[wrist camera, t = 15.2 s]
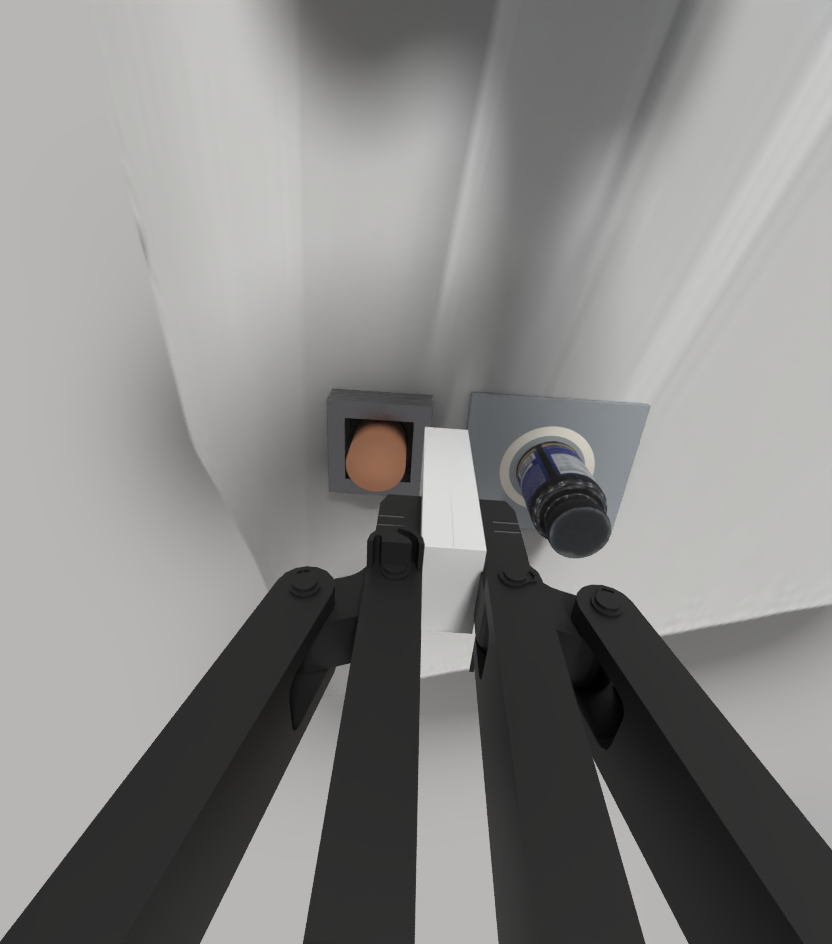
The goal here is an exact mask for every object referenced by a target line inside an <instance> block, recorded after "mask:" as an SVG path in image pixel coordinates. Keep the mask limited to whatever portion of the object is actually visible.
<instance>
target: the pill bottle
mask: <svg viewBox="0 0 832 944" xmlns="http://www.w3.org/2000/svg"><path fill="white" fill-rule="evenodd" d="M516 477H517V481H518V484H519V487H520V490H521V492H522V495H523V498H524V501H525V504H526V507H527V509H528V512H529V515H530V517H531V520H532V523H533V525H534V527H535V529H536V530H537V531H538V532H539V534H541V536H543V537H544V538H546V539H548V540H549V543H550V545H551V546H552V548H553V549H554V550H555V551H556V552H557V553H559V554H560V555H563V556H565V557H569V558H583V557H587V556H590V555H593V554H594V553H596V552H598V551H599V550H600V549H602V548H603V547H604V546H605V544H606V543H607V542H608V540H609V537H610V535H611V523H610V520H609V518H608V516H607V500H606V497H605V494H604V493H603V491H602V489H601V488H600V487H599V485H598V484H597V482H596V481H595V479H594V478H593V476H592V475H591V473H590V472H589V470H588V469H587V467H586V466H585V464H584V463H583V462H582V460H581V459H580V457H579V456H578V454H577V452H576V451H575V450H574V449H573V448H572V447H570V446H569V445H567V444H564V443H562V442H557V441H548V442H543V443H540V444H537V445H535V446H533V447H531V448H530V449H529V450H527V451H526V452H525V453H524V455H523V456H522V457H521V459H520V460H519V463H518V465H517V468H516Z"/></svg>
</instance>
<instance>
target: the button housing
mask: <svg viewBox="0 0 832 944" xmlns="http://www.w3.org/2000/svg"><path fill="white" fill-rule="evenodd" d="M432 410H433V401H432V395H420V394H405V393H389V392H374V391H358V390H343V389H332V391H331V393H330V395H329V397H328V399H327V430H328V466H329V492H343V493H359V494H375V495H388V494H395V495H410V496H420V482H421V470H422V457H423V445H424V432H425V427H431V422H432ZM349 418H355V419H371V420H387V421H402V422H414V429H413V445H412V461H411V468H409V467H405V472H404V475H403V478H402V479H401V481H400V482H399V483H398V484H397V485H396V486H394V487H393V488H391V489H389V490H386V491H380V492H373V491H368V490H365V489H363V488H361V487H359V486H357V485H356V484H355V483H354V482H353V481H352V480H351V478H350V477H349V475H348V473H347V470H346V458H347V455H348V452H349V449H350V426H349Z"/></svg>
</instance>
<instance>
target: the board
mask: <svg viewBox="0 0 832 944" xmlns="http://www.w3.org/2000/svg"><path fill="white" fill-rule="evenodd" d="M649 409H650V405H648V404H642V403H626V402H611V401H595V400H580V399H564V398H549V397H534V396H518V395H503V394H487V393H471V401H470V409H469V417H468V426H467V430H468V434H469V440H470V447H471V453H472V460H473V466H474V473H475V479H476V486H477V492H478V499H484V500H499V501H506V502H507V503H508V504H509V505H510V506H511V507H512V508H513V509H514V510H515V512H516V516H517V520H518V525H519V527H520V529H530V530H536V529H535V527H534V525H533V523H532V520H531V517H530V515H529V512H528V509H527V507H526V504H525V501H524V498H523V495H522V492H521V490H520V487H519V484H518V481H517V477H516V468H517V465H518V463H519V460H520V459H521V457H522V456H523V455H524V453H525V452H526V451H527V450H529V449H530V448H531V447H533V446H535V445H537V444H540V443H543V442H548V441H557V442H562V443H564V444H567V445H569V446H570V447H572V448H573V449H574V450H575V451H576V452H577V454H578V456H579V457H580V459H581V460H582V462H583V463H584V464H585V466H586V467H587V469H588V470H589V472H590V473H591V475H592V476H593V478H594V479H595V481H596V482H597V484H598V485H599V487H600V488H601V489H602V491H603V493H604V494H605V497H606V500H607V516H608V518H609V520H610V523H611V532H612V529H613V526H614V523H615V519H616V516H617V513H618V510H619V506H620V503H621V500H622V497H623V494H624V490H625V487H626V484H627V481H628V477H629V474H630V471H631V468H632V464H633V461H634V458H635V455H636V451H637V448H638V445H639V442H640V439H641V435H642V432H643V429H644V426H645V422H646V419H647V416H648V413H649Z"/></svg>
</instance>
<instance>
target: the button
mask: <svg viewBox="0 0 832 944" xmlns="http://www.w3.org/2000/svg"><path fill="white" fill-rule="evenodd" d="M406 453H407V436H406V433H405V431H404V429H403V428H402V426H401V425H400V424H399V423H398V422H396V421H387V420H371V419H366V420H364V421H363V422H362V423H361V424H360V425H359V426H358V427H357V429H356V431H355V434H354V437H353V440H352V443H351V446H350V449H349V452H348V455H347V458H346V470H347V473H348V475H349V477H350V478H351V480H352V481H353V482H354V483H355V484H356V485H357V486H359V487H361V488H363V489H365V490H368V491H373V492H380V491H386V490H389V489H391V488H393V487H394V486H396V485H397V484H398V483H399V482H400V481H401V479H402V478H403V475H404V472H405V465H406Z"/></svg>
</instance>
